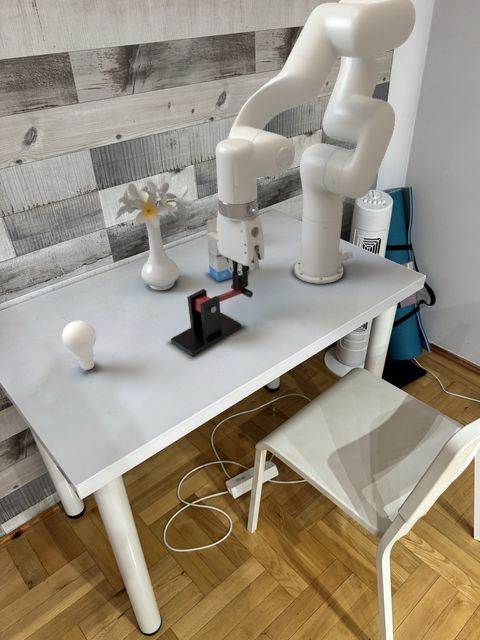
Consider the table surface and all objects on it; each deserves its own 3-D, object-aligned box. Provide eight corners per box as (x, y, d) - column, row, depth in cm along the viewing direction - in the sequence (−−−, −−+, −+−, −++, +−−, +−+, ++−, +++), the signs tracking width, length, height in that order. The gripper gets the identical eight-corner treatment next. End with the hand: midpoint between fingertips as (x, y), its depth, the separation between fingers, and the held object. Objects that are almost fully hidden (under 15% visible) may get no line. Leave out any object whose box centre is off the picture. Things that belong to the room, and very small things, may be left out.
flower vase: (207, 277, 129) (199, 180, 114) (150, 307, 118) (132, 204, 103) (174, 261, 136) (161, 167, 121) (117, 288, 125) (95, 189, 110)
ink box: (218, 282, 127) (214, 227, 118) (209, 274, 130) (204, 220, 121) (247, 273, 131) (245, 219, 122) (237, 265, 134) (235, 212, 125)
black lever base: (220, 316, 115) (217, 278, 109) (241, 328, 111) (239, 290, 105) (171, 343, 107) (165, 304, 101) (192, 357, 104) (187, 317, 98)
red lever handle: (235, 289, 114) (235, 280, 113) (252, 298, 111) (253, 288, 110) (190, 306, 106) (190, 296, 104) (207, 316, 103) (207, 306, 101)
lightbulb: (75, 381, 98) (60, 336, 91) (71, 363, 102) (56, 318, 96) (106, 373, 100) (94, 328, 93) (101, 355, 104) (89, 311, 97)
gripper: (278, 211, 98) (277, 293, 109) (225, 192, 106) (229, 270, 117) (251, 223, 93) (252, 306, 105) (198, 202, 102) (205, 281, 113)
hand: (240, 287), depth 111 cm, fingers closed
